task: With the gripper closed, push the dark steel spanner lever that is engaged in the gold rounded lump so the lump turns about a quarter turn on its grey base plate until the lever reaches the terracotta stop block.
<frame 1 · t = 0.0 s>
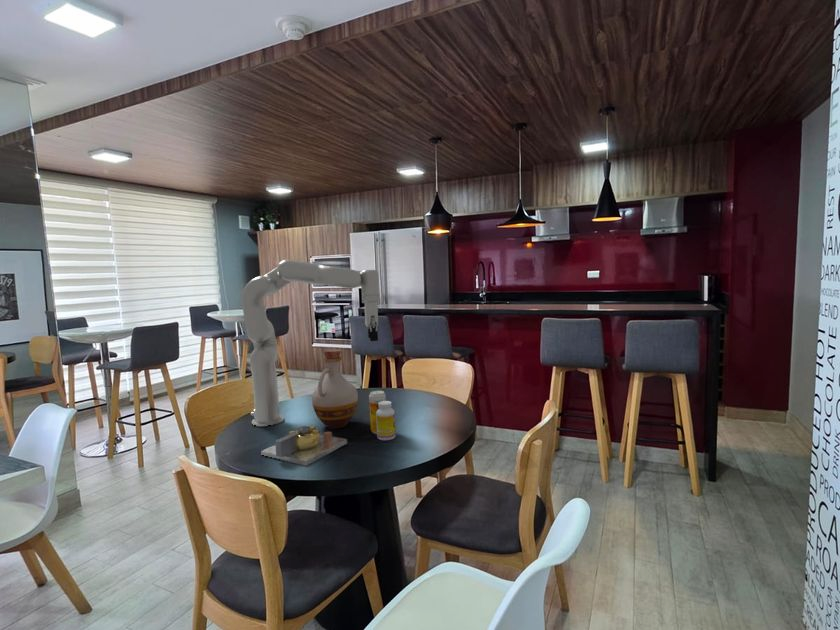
hand: (373, 339, 187), 31 cm above the table, tool pointing down, fingers open, 9 cm apart
jug: (335, 426, 173), on the table
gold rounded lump: (297, 439, 147), point 5 cm above the table, hinge at 0.0°
supplement bottle: (386, 438, 158), on the table
orange pill bottle: (379, 432, 164), on the table
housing: (305, 449, 150), on the table
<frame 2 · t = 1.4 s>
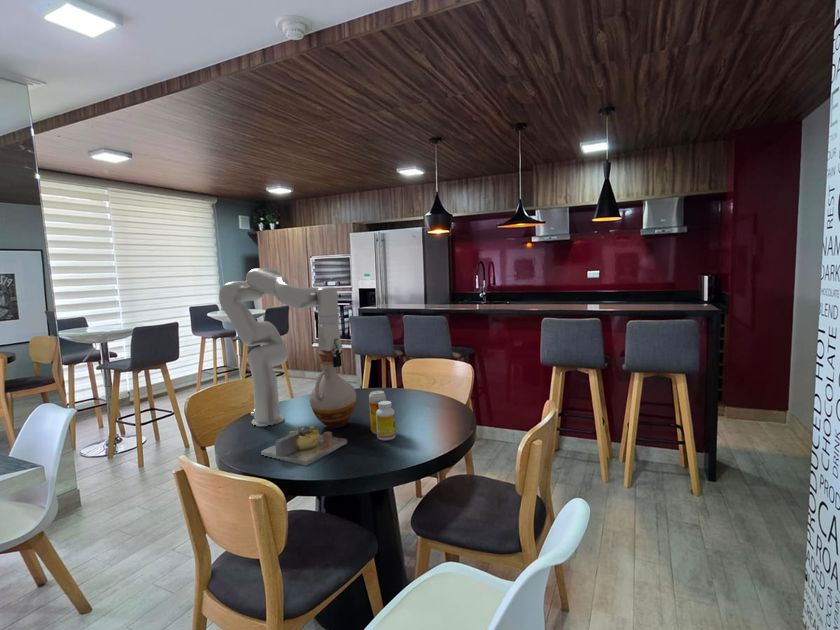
hand: (331, 365, 167), 25 cm above the table, tool pointing down, fingers open, 9 cm apart
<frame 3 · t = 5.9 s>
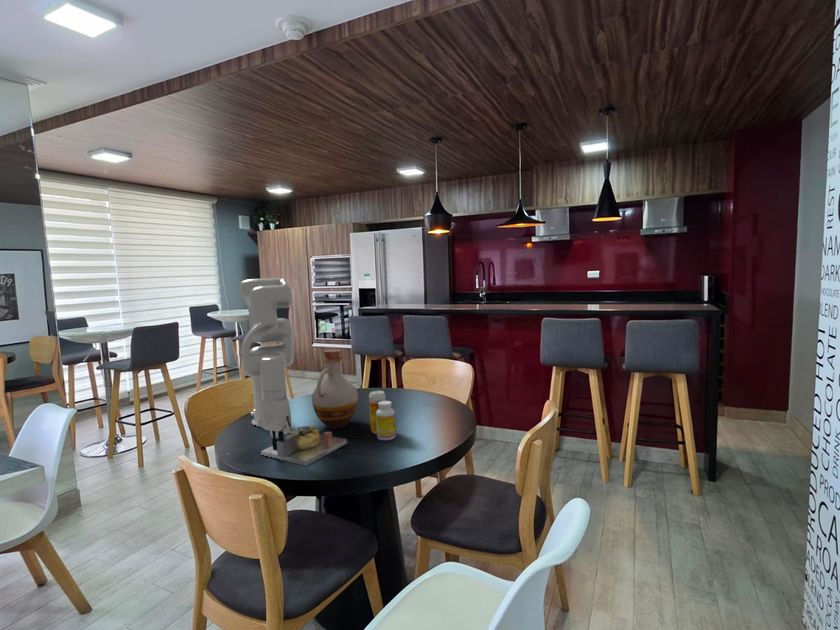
hand: (278, 448, 144), 3 cm above the table, tool pointing down, fingers closed
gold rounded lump: (297, 439, 147), point 5 cm above the table, hinge at 3.5°, touching gripper
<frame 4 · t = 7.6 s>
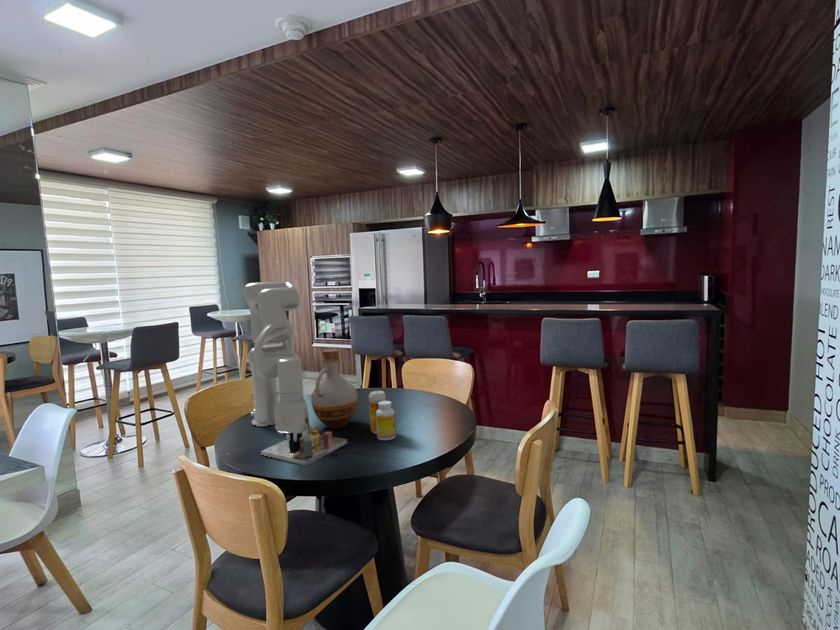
hand: (294, 451, 142), 3 cm above the table, tool pointing down, fingers closed
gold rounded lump: (305, 439, 147), point 5 cm above the table, hinge at 49.7°, touching gripper
everything else where it was.
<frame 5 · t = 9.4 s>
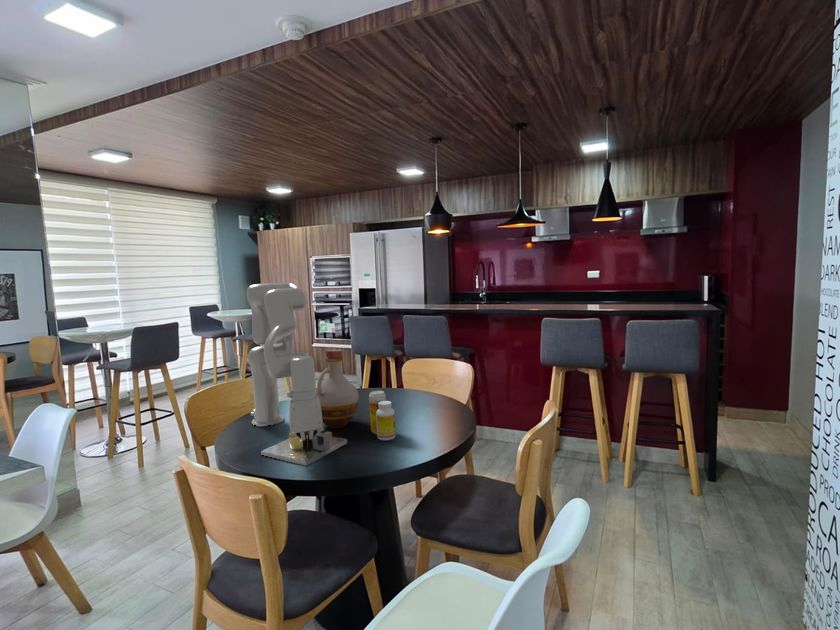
hand: (308, 450, 142), 3 cm above the table, tool pointing down, fingers closed
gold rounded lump: (310, 437, 148), point 5 cm above the table, hinge at 81.8°
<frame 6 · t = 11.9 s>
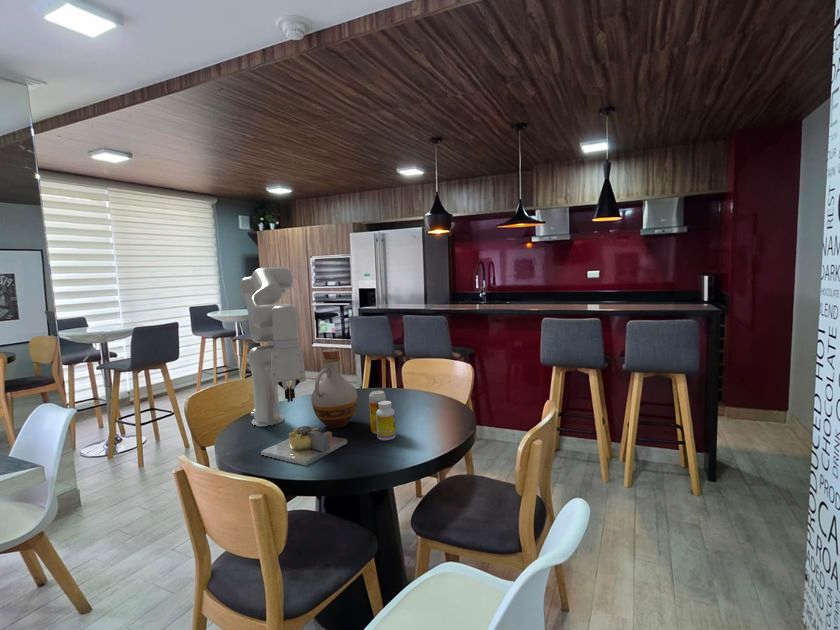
hand: (290, 400, 141), 19 cm above the table, tool pointing down, fingers closed
at the end: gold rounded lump at +82° (first picture: +0°) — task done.
